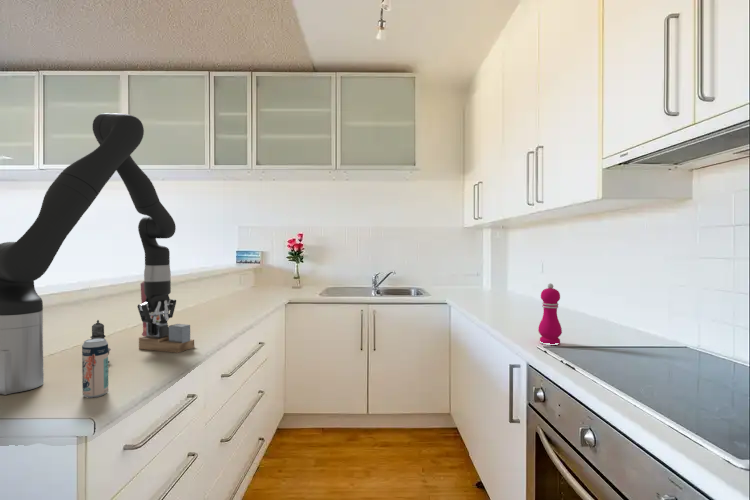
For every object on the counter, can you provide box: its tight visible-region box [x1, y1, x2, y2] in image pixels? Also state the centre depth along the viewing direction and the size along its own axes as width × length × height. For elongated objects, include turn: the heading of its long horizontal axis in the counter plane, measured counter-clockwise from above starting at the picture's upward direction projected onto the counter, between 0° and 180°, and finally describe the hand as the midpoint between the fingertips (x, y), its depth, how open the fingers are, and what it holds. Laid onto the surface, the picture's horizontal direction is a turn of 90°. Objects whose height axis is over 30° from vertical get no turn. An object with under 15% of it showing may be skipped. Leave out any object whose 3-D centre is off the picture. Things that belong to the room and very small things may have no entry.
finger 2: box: [168, 323, 191, 343], centre depth 138 cm, size 4×6×5 cm, turn 72°
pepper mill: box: [537, 283, 563, 344], centre depth 147 cm, size 7×7×20 cm
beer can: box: [81, 337, 109, 399], centre depth 97 cm, size 5×5×12 cm
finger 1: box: [146, 322, 169, 339], centre depth 140 cm, size 4×6×5 cm, turn 72°
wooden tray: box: [138, 335, 195, 354], centre depth 139 cm, size 7×15×4 cm, turn 72°
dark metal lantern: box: [90, 319, 111, 364], centre depth 122 cm, size 6×6×12 cm
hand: (157, 333), depth 141 cm, fingers open, 3 cm apart
